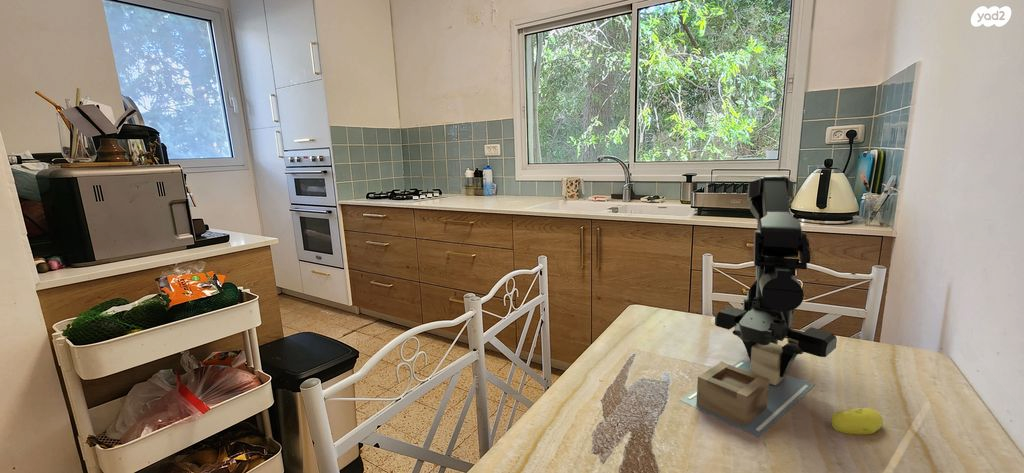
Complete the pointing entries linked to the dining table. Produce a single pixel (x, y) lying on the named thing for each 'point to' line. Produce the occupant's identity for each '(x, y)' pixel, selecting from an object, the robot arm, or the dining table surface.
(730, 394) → the base block
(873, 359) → the dining table surface
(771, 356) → the oak block
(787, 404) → the board
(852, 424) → the yellow oval piece
